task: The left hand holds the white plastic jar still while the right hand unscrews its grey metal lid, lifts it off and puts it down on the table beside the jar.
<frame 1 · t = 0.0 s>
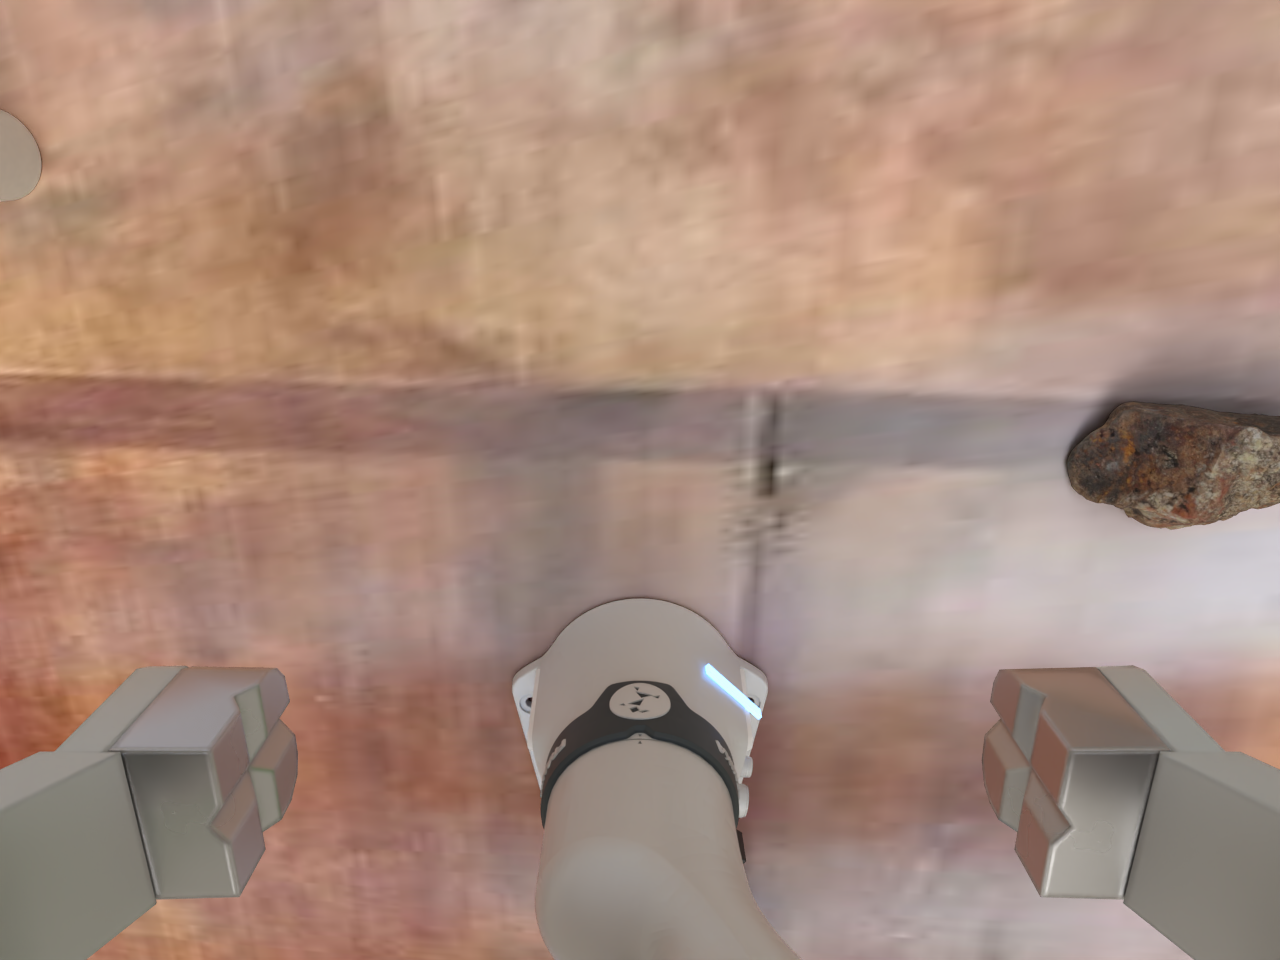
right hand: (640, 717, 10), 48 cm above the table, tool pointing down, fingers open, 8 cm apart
rock: (1174, 452, 60), on the table
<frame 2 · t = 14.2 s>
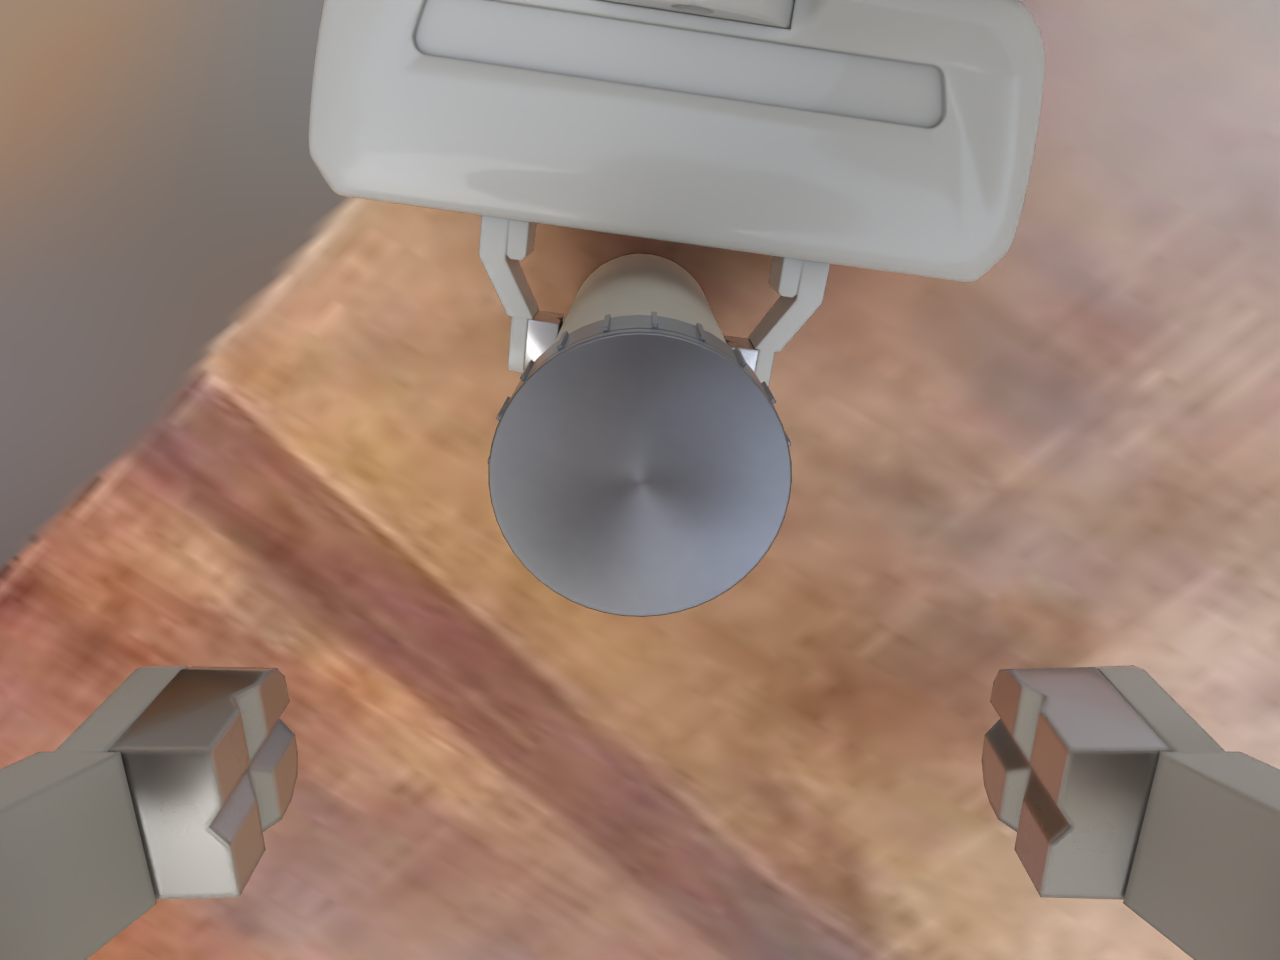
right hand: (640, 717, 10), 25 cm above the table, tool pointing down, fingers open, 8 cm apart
left hand: (638, 384, 28), fingers closed on jar, 5 cm apart
lid: (640, 477, 18), point 17 cm above the table, screwed on, not yet turned
jar: (640, 325, 33), on the table, touching left hand
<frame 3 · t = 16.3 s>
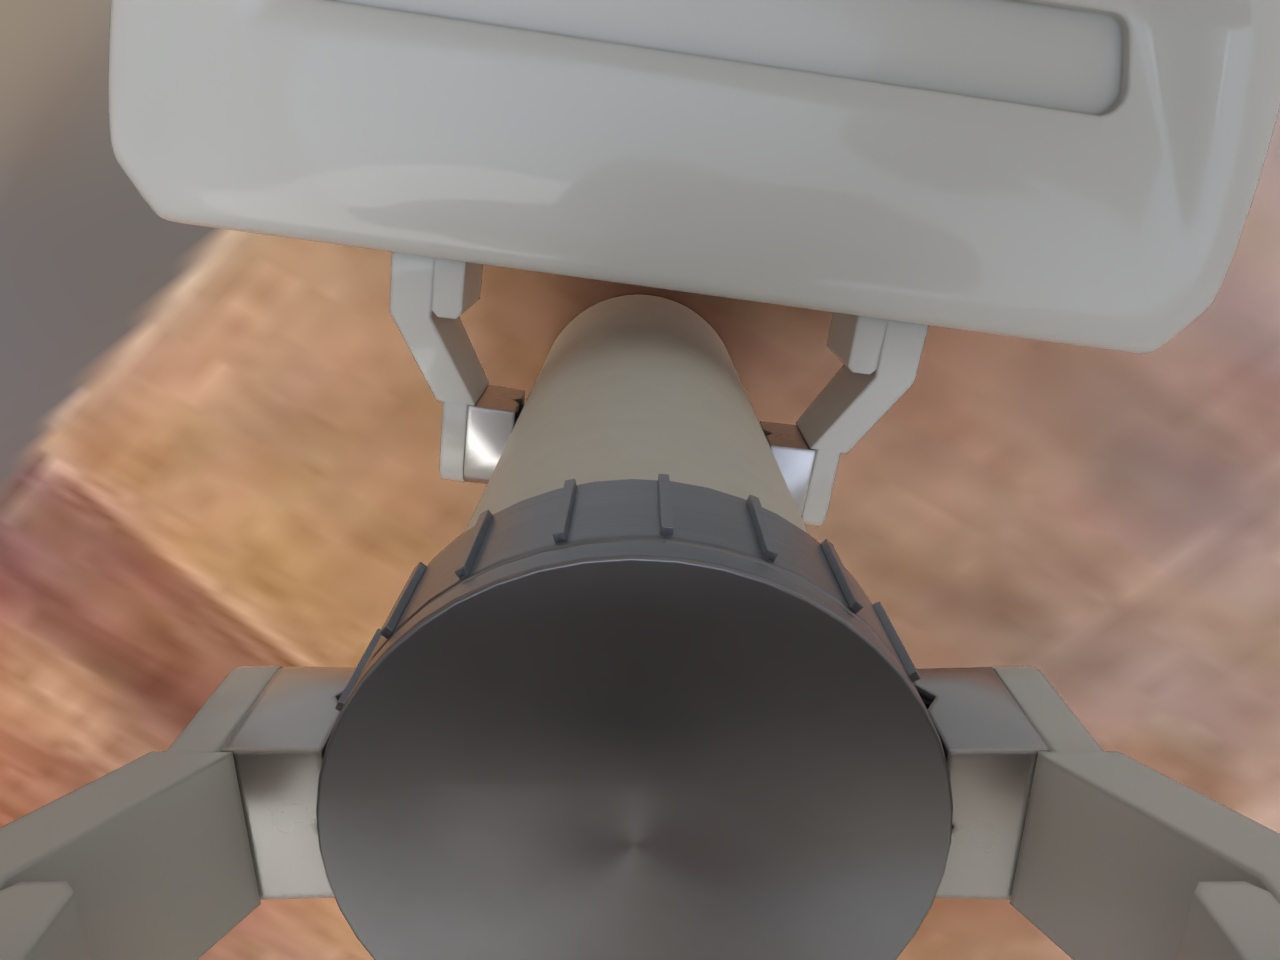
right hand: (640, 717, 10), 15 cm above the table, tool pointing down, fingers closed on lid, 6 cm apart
lid: (634, 819, 9), point 17 cm above the table, screwed on, not yet turned, touching right hand
jar: (638, 392, 24), on the table, touching left hand
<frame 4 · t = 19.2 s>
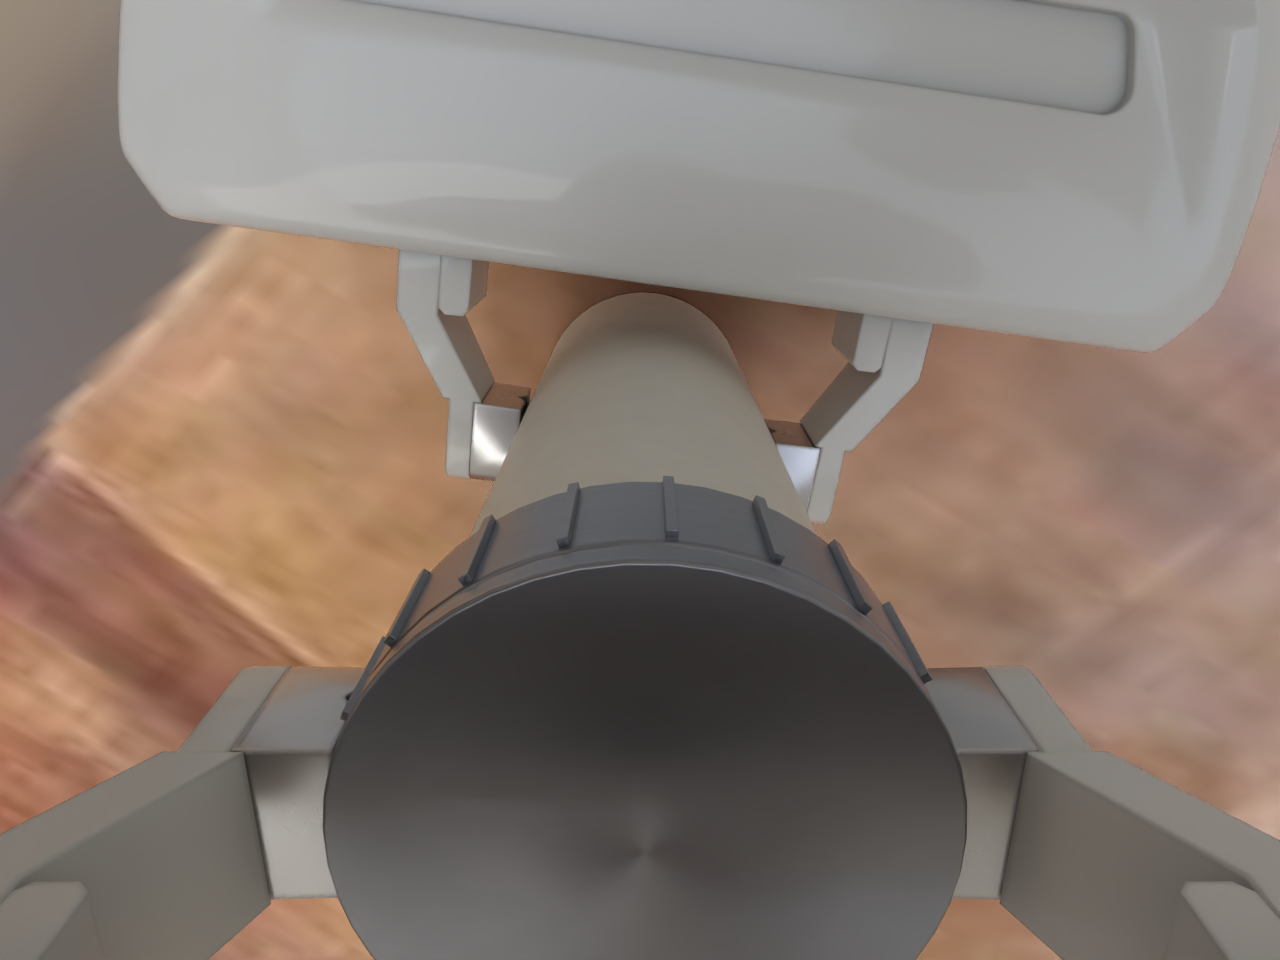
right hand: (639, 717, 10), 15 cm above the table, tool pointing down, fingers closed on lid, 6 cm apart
lid: (644, 825, 9), point 17 cm above the table, turned 55° so far, risen 0.2 cm, still on its thread, touching right hand
jar: (642, 389, 24), on the table, touching left hand
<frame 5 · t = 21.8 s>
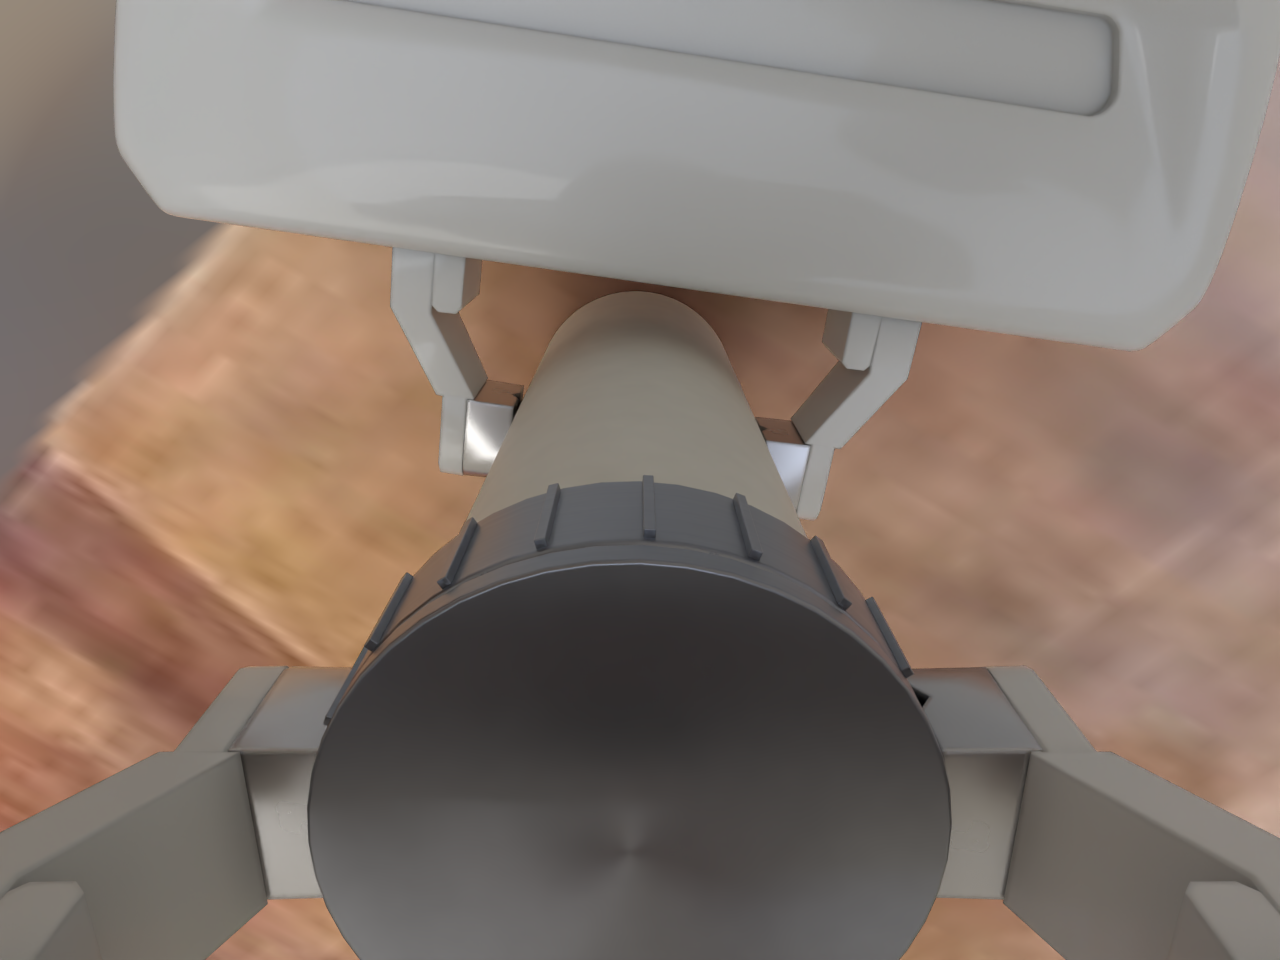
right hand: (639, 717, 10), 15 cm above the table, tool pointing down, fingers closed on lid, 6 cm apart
lid: (630, 825, 9), point 17 cm above the table, turned 110° so far, risen 0.4 cm, still on its thread, touching right hand
jar: (635, 387, 24), on the table, touching left hand
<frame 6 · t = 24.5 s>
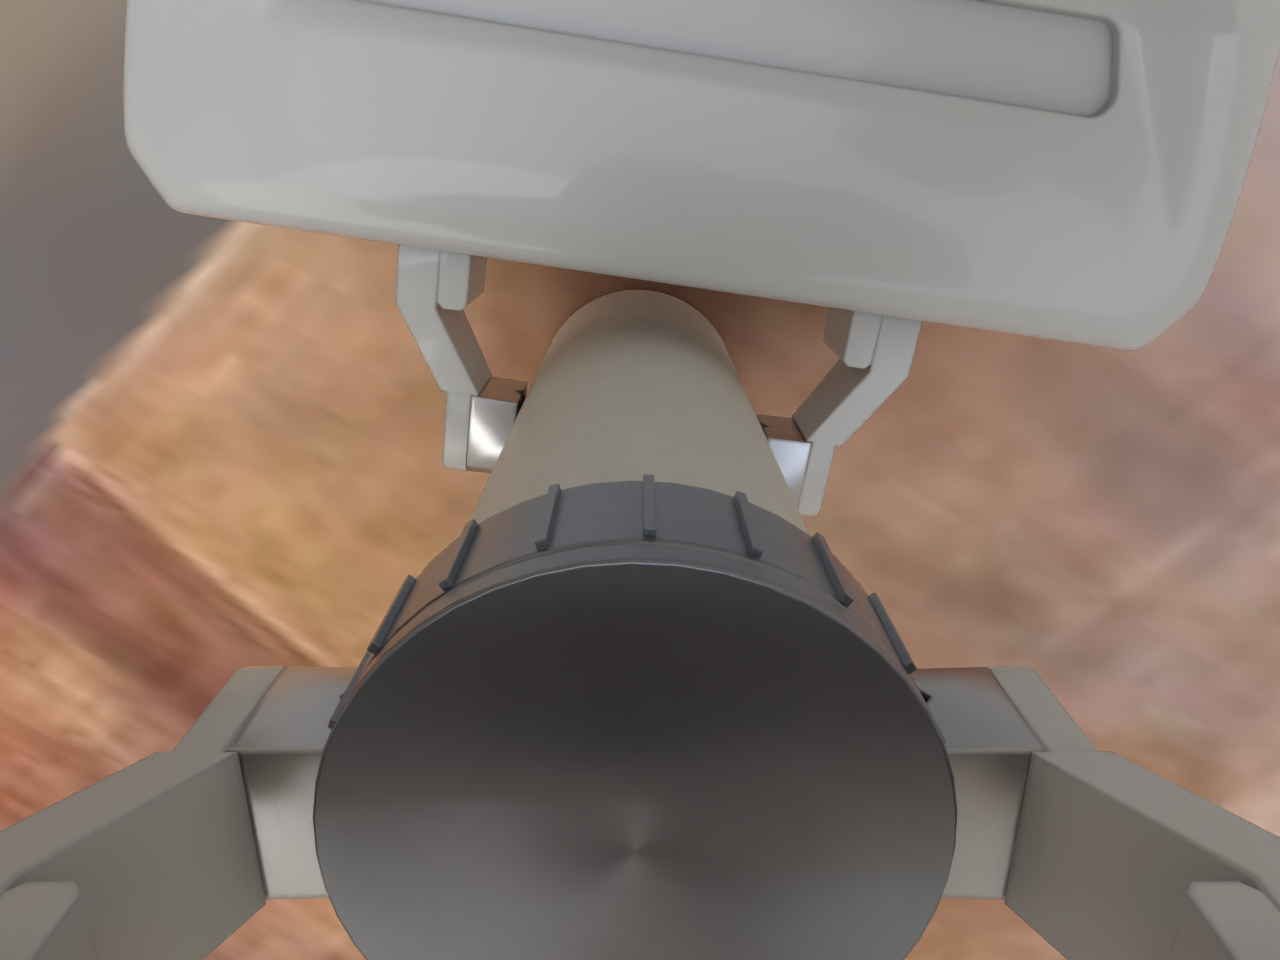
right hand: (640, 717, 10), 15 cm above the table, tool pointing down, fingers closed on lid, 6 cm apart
lid: (635, 824, 9), point 17 cm above the table, turned 166° so far, risen 0.5 cm, still on its thread, touching right hand
jar: (637, 385, 25), on the table, touching left hand
when the right hand's fingers open (2 cm above the table, at t = 30.9 s): lid drops 2 cm, point 2 cm above the table.
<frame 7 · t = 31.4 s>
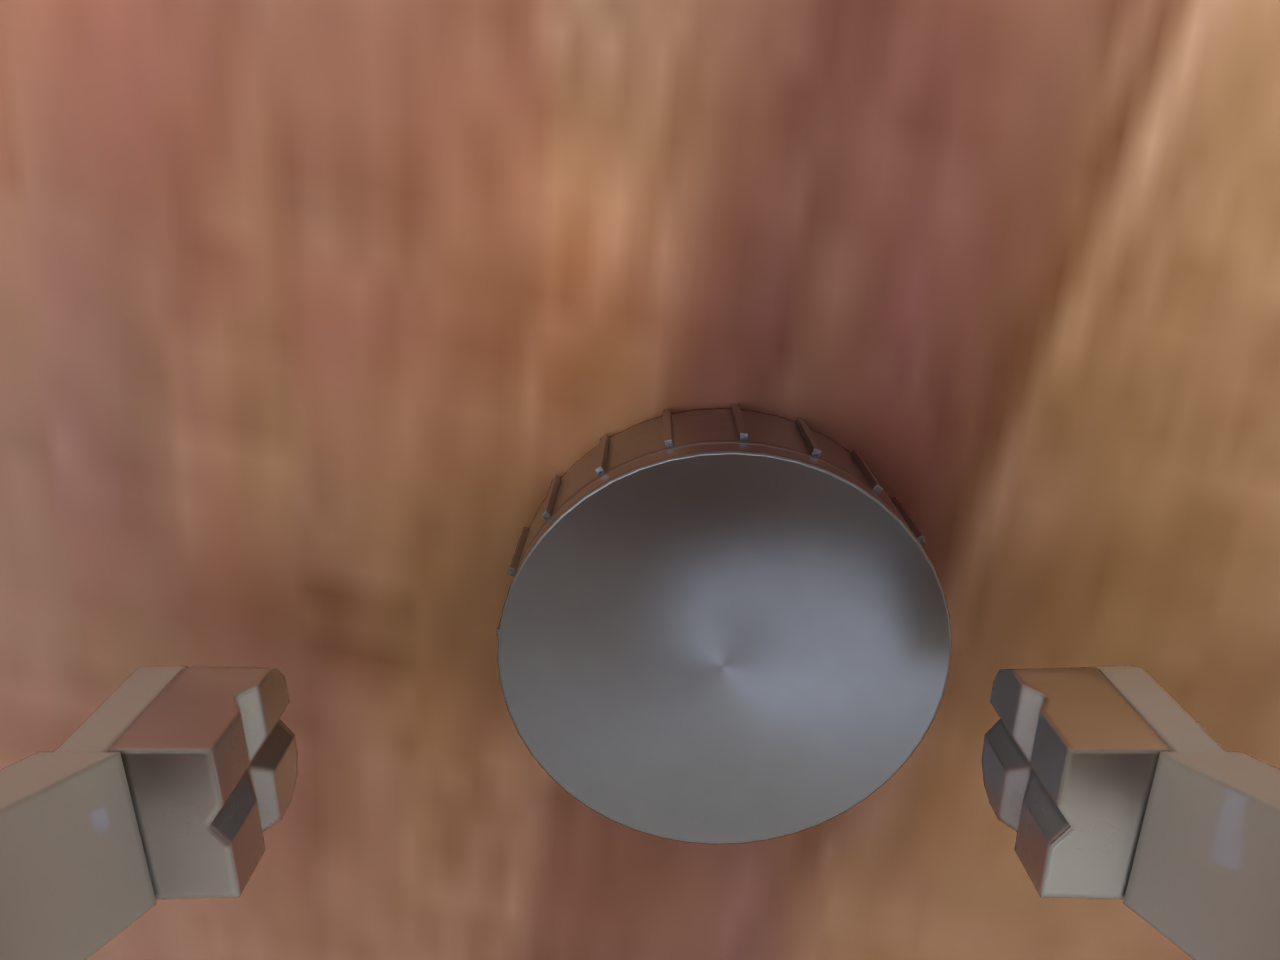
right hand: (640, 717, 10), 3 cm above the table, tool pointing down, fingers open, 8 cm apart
lid: (721, 651, 12), point 2 cm above the table, off its thread
when the left hand's fingers open (6 cm above the table, at t = 31.9 s): jar stays where it is, on the table.
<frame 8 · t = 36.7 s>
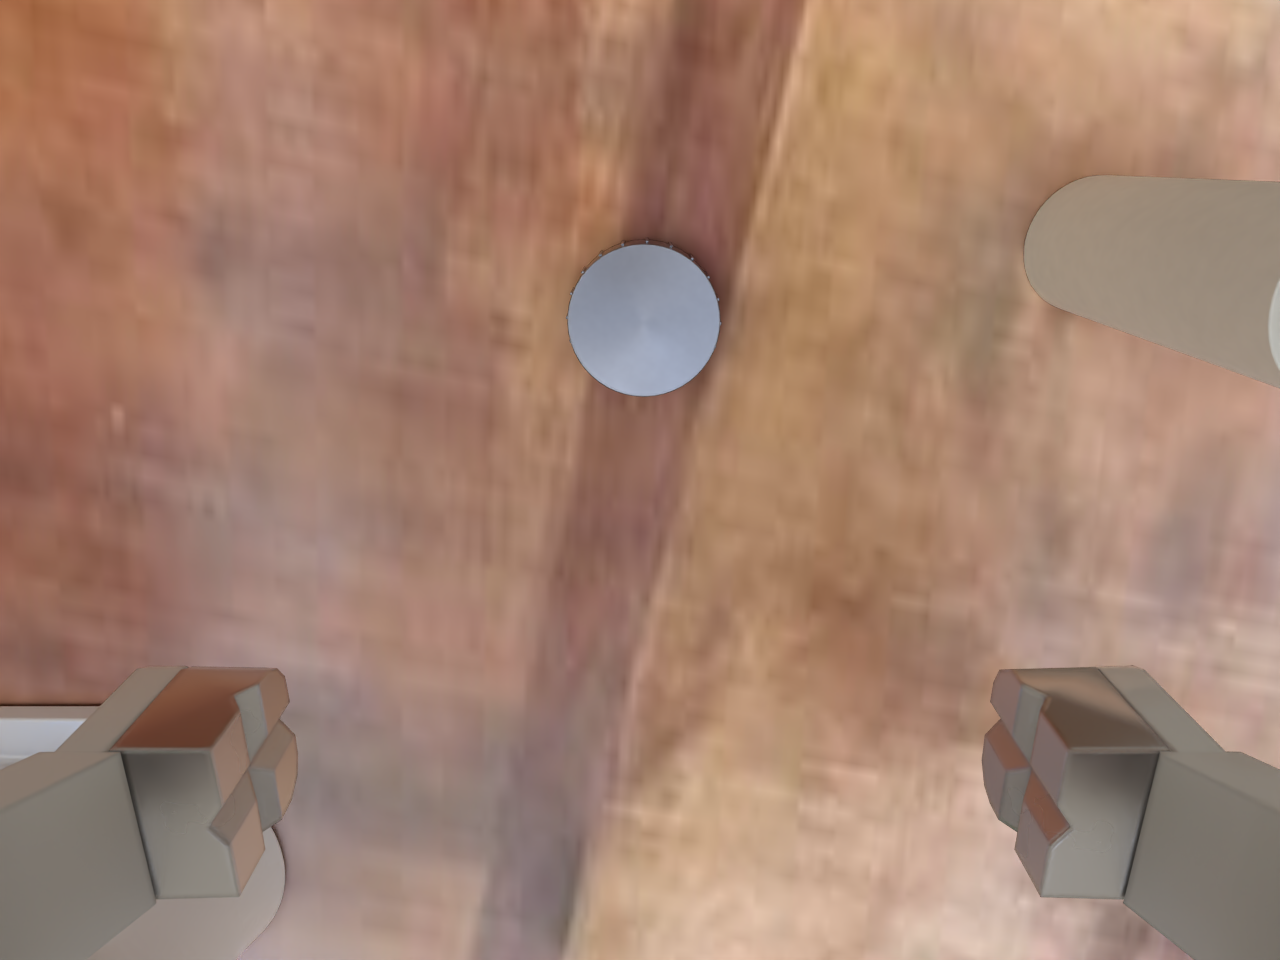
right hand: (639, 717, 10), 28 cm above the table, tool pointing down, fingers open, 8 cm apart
lid: (643, 321, 35), point 2 cm above the table, off its thread
jar: (1090, 245, 35), on the table
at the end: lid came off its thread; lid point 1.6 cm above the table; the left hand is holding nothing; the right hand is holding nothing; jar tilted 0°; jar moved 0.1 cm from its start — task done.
